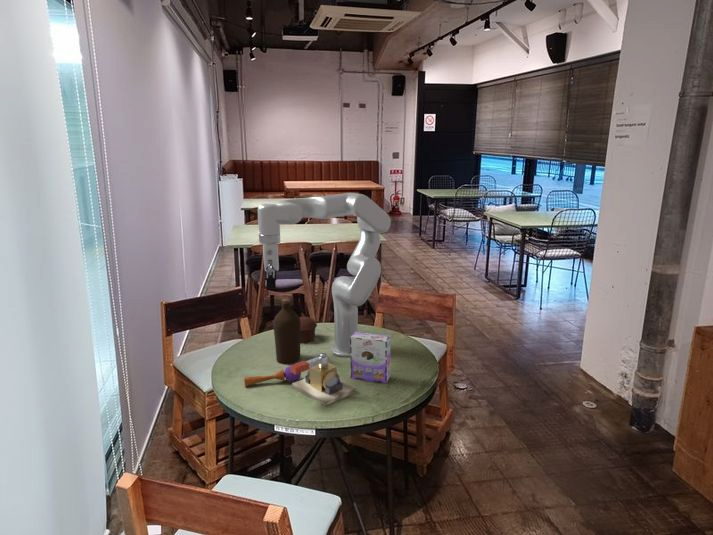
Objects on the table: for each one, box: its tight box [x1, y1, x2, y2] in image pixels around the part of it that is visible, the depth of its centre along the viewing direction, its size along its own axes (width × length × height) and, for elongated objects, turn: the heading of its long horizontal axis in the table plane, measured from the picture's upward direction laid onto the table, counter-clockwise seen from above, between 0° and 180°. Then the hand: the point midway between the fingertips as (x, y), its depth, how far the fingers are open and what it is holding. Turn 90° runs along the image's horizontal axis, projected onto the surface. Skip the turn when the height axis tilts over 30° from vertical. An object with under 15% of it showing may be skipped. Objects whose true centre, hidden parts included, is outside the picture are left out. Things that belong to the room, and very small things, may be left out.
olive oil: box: [272, 297, 301, 365], centre depth 192 cm, size 11×11×25 cm
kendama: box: [243, 364, 302, 388], centre depth 176 cm, size 6×6×20 cm
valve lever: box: [289, 352, 329, 375], centre depth 165 cm, size 14×3×4 cm, turn 134°
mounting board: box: [291, 377, 357, 407], centre depth 171 cm, size 14×18×2 cm
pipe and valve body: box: [304, 362, 343, 395], centre depth 170 cm, size 7×13×7 cm, turn 44°
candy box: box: [349, 331, 391, 384], centre depth 178 cm, size 14×6×16 cm, turn 71°
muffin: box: [299, 316, 318, 345], centre depth 214 cm, size 12×11×10 cm
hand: (271, 284), depth 180 cm, fingers open, 9 cm apart
